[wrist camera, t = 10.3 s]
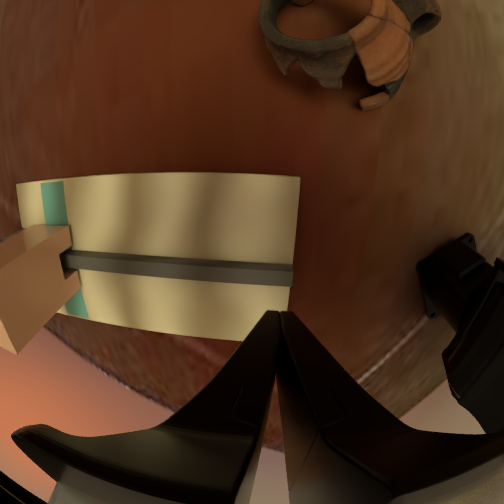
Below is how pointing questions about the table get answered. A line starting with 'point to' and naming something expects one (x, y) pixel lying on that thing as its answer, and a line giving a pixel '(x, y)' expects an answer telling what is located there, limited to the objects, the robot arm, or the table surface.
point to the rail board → (173, 247)
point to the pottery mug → (355, 45)
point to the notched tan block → (33, 282)
